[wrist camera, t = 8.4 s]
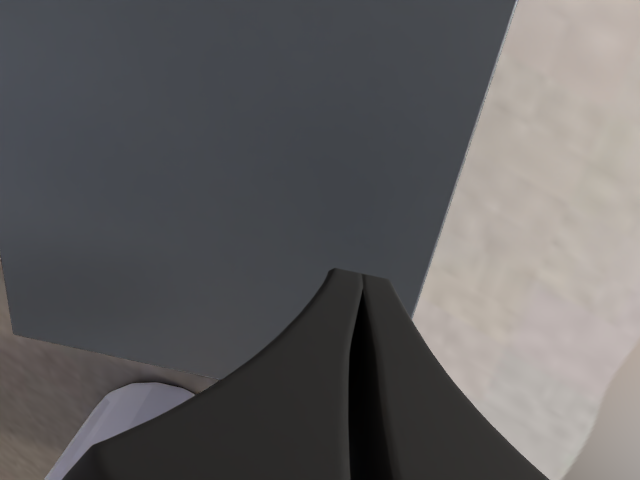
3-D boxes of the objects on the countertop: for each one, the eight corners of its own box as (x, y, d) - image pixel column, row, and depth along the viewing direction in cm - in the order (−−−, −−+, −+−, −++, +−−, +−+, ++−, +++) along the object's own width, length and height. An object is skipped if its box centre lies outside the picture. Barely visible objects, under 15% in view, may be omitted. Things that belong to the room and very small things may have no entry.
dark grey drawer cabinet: (138, -136, 16) (-87, -268, 8) (475, -70, 16) (566, -143, 8) (139, 221, 22) (12, 335, 14) (380, 272, 22) (380, 415, 14)
